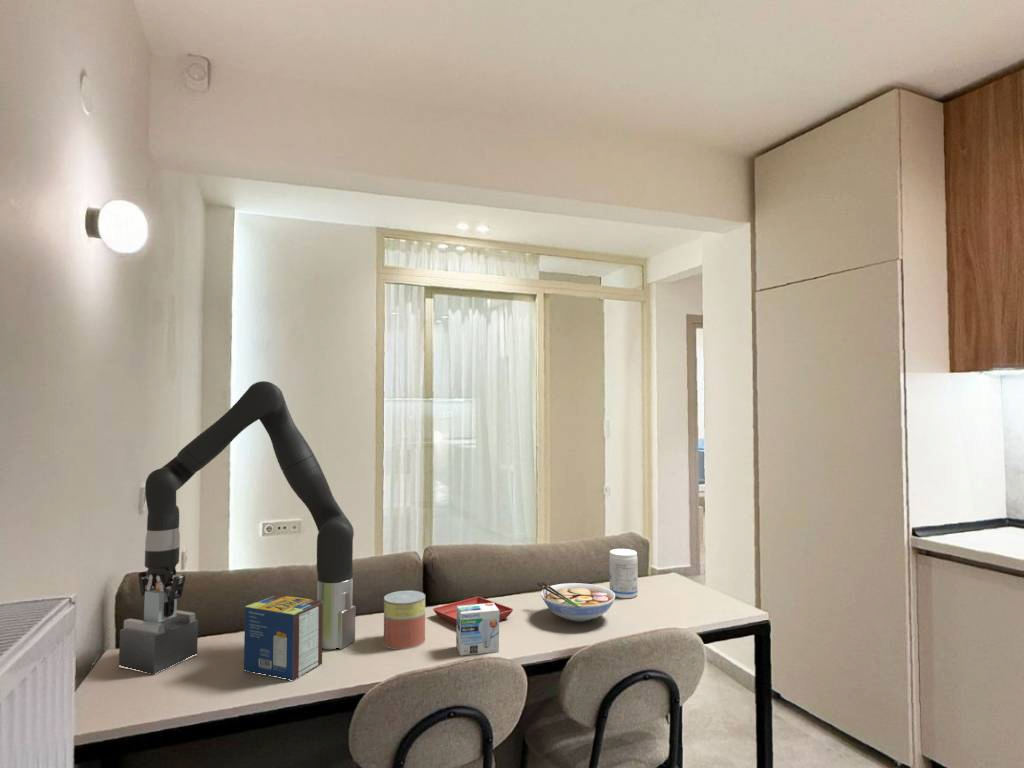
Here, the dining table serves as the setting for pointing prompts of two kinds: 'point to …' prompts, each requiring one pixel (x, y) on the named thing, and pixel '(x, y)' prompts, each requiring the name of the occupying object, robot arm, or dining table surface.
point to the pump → (156, 605)
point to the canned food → (404, 619)
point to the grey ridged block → (158, 642)
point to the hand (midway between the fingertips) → (160, 614)
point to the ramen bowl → (577, 600)
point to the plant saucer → (450, 610)
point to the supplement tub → (623, 573)
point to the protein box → (283, 636)
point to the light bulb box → (477, 629)
